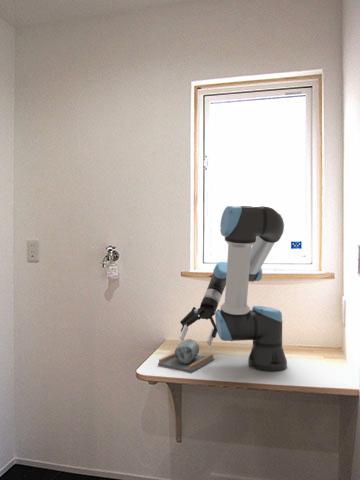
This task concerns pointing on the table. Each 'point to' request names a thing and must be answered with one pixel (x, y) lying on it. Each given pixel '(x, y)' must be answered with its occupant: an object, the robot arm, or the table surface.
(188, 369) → the slot board
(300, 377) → the table surface
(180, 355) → the grey thick cylinder
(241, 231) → the robot arm
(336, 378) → the table surface
